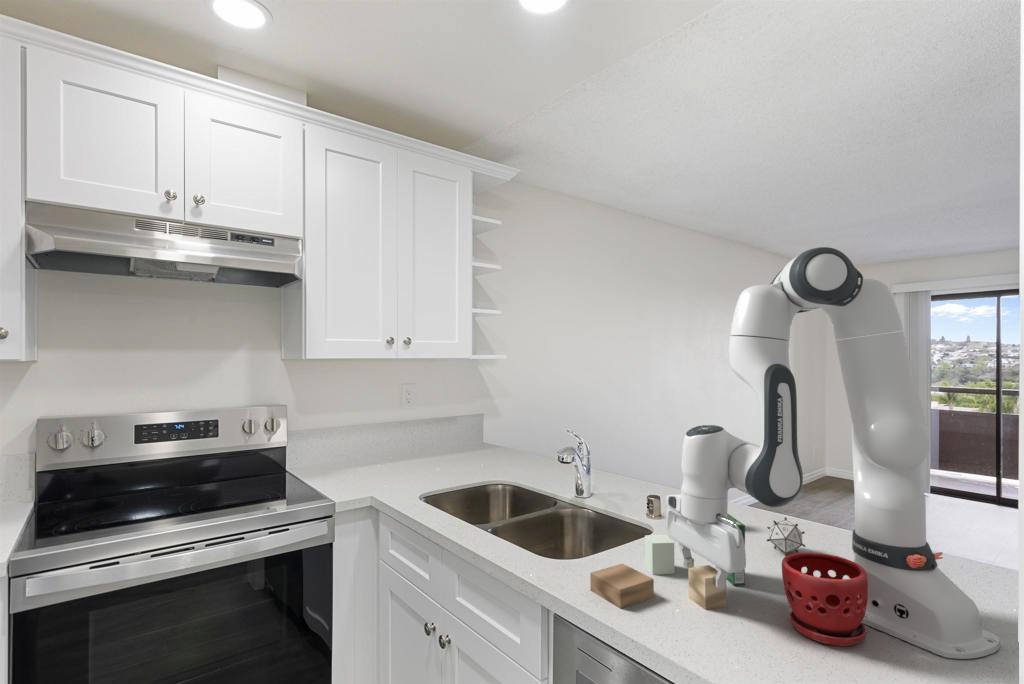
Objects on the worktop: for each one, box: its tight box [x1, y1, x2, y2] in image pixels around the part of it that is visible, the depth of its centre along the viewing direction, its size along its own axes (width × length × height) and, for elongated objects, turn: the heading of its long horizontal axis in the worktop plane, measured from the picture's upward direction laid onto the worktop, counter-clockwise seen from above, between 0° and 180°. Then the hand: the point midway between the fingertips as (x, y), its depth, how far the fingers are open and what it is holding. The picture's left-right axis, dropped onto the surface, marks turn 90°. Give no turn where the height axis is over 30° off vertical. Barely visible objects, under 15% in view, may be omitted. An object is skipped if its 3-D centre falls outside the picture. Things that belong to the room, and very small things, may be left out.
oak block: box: [687, 564, 727, 610], centre depth 104 cm, size 5×5×6 cm
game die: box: [766, 516, 807, 557], centre depth 129 cm, size 9×8×10 cm
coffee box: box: [726, 512, 746, 587], centre depth 115 cm, size 8×3×13 cm, turn 4°
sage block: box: [644, 534, 675, 576], centre depth 119 cm, size 5×5×7 cm
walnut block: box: [589, 563, 655, 609], centre depth 108 cm, size 9×9×4 cm
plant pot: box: [781, 552, 868, 647], centre depth 93 cm, size 13×13×12 cm
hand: (702, 576), depth 105 cm, fingers open, 8 cm apart
